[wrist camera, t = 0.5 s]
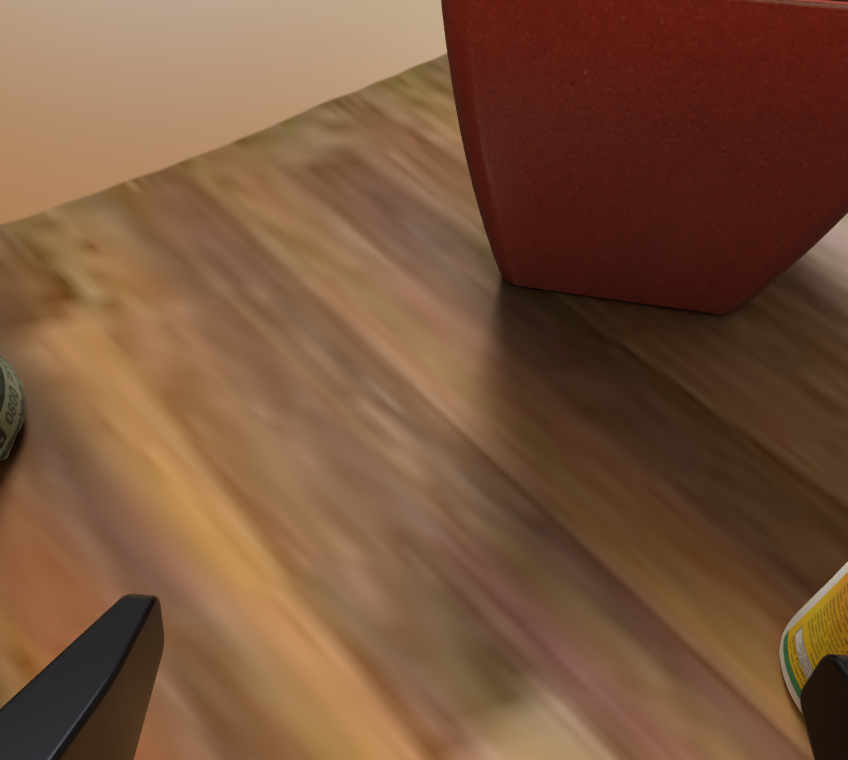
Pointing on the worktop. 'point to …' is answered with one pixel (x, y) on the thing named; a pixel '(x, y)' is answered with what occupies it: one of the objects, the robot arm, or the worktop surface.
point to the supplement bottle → (815, 633)
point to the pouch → (10, 407)
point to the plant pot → (653, 141)
